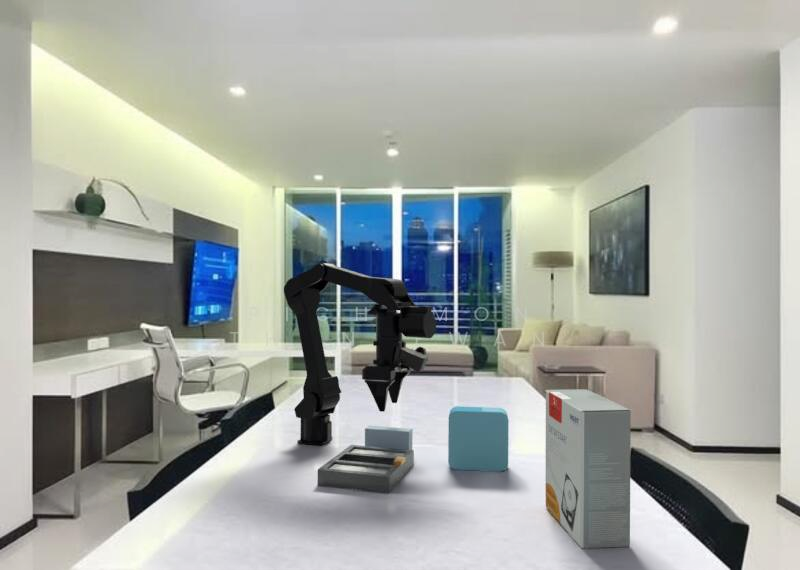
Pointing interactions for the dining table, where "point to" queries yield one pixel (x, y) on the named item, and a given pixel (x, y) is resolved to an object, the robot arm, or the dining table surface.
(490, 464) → the data package
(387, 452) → the frame
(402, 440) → the block
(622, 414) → the hard drive box
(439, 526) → the dining table surface
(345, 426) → the dining table surface
